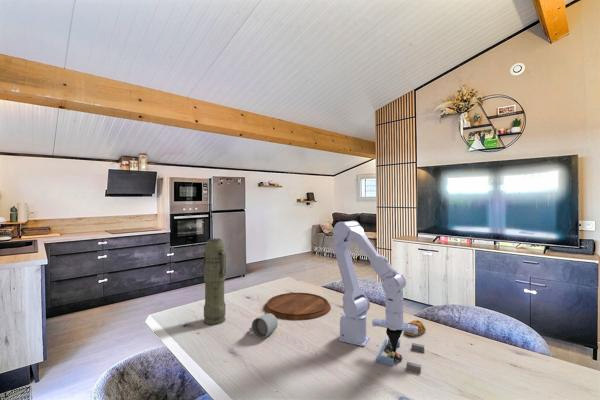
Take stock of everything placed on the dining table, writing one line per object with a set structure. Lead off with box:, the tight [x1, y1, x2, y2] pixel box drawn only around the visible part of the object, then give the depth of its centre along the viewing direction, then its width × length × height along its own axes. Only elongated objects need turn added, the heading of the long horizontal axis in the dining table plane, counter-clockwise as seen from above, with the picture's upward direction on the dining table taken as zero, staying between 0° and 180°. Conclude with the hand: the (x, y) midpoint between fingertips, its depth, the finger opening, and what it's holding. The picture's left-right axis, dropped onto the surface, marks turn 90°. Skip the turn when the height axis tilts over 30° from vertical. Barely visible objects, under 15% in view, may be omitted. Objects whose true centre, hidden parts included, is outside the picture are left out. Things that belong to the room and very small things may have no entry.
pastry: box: [404, 319, 427, 337], centre depth 115 cm, size 9×7×4 cm
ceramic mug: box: [248, 312, 279, 340], centre depth 114 cm, size 11×8×8 cm
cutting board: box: [264, 292, 332, 321], centre depth 143 cm, size 32×32×3 cm
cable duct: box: [375, 337, 425, 374], centre depth 98 cm, size 13×15×2 cm
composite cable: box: [384, 344, 403, 361], centre depth 98 cm, size 10×5×2 cm, turn 173°
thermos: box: [203, 238, 227, 326], centre depth 126 cm, size 9×12×35 cm
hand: (394, 350), depth 99 cm, fingers closed, pressing on composite cable
